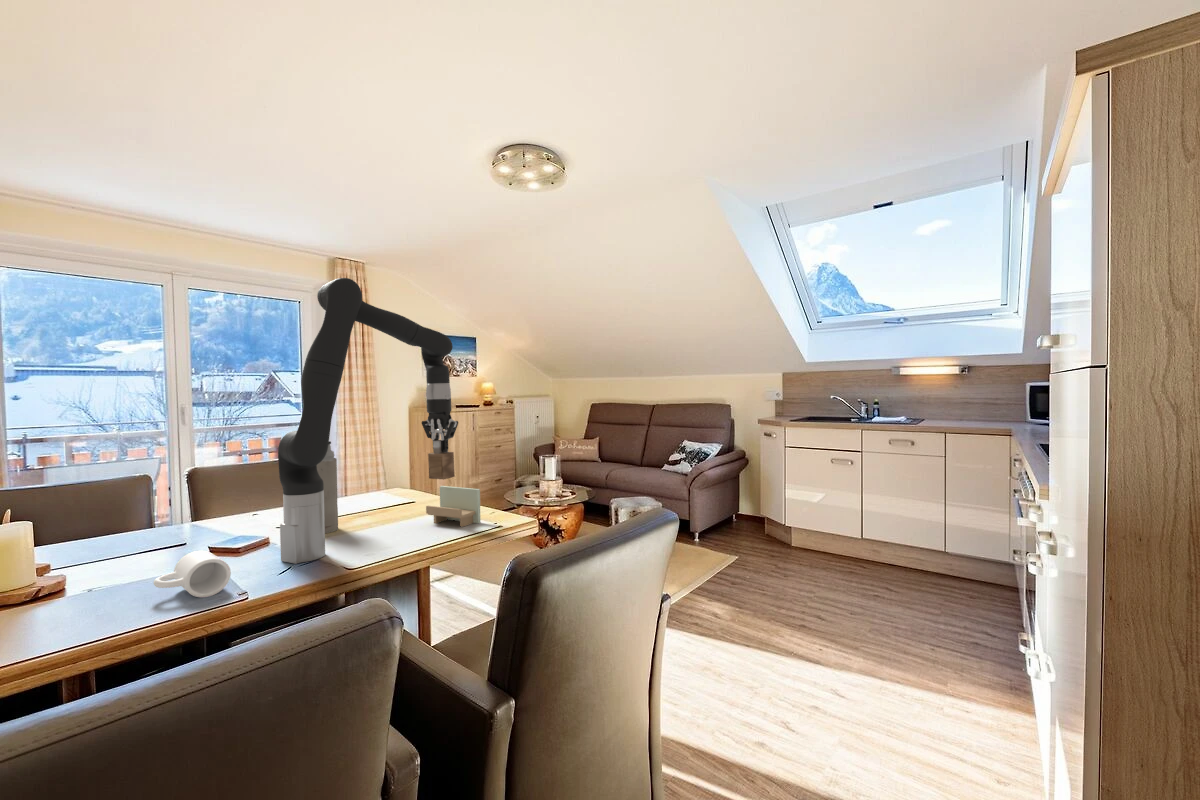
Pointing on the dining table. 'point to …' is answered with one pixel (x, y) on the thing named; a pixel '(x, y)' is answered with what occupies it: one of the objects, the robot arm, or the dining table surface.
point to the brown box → (440, 463)
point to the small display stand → (457, 505)
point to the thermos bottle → (329, 489)
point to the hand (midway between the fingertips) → (440, 451)
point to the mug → (197, 574)
